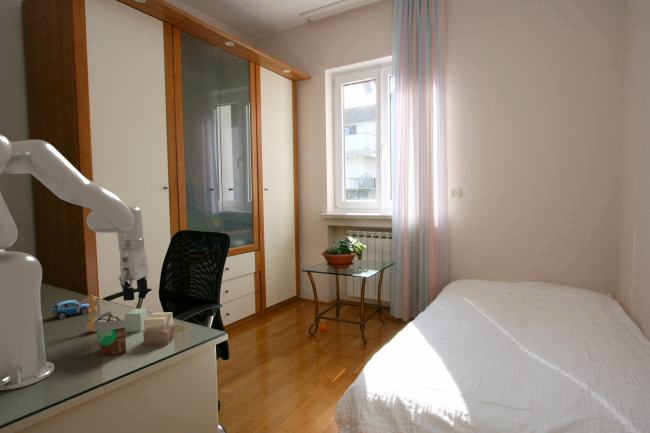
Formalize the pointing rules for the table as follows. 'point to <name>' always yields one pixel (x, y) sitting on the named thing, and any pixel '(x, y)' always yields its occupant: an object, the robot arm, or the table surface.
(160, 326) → the birch block
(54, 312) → the toy car
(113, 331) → the food container
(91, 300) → the figurine
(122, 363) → the table surface
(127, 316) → the green block
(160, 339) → the walnut block
